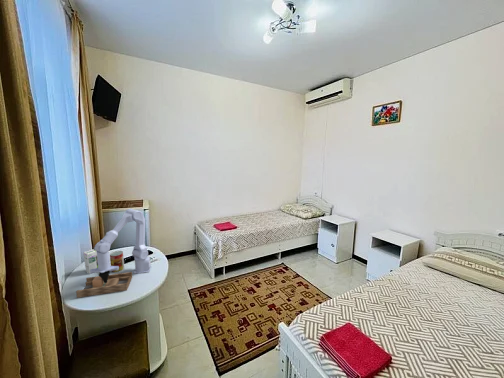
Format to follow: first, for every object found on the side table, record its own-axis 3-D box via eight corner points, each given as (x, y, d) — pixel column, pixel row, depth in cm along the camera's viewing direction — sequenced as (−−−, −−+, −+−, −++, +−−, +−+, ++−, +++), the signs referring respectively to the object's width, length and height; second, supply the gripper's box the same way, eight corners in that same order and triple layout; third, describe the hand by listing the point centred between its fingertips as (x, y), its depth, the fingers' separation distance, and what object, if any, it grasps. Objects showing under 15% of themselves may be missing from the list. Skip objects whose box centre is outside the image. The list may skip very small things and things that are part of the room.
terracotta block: (104, 282, 133) (103, 275, 132) (101, 286, 129) (101, 279, 128) (96, 283, 132) (95, 276, 131) (93, 287, 127) (92, 280, 127)
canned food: (110, 268, 152) (108, 252, 150) (123, 265, 157) (121, 249, 155) (112, 273, 146) (110, 257, 144) (125, 269, 151) (124, 253, 149)
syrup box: (89, 274, 145) (87, 254, 143) (85, 271, 148) (83, 251, 146) (99, 270, 150) (96, 250, 147) (95, 268, 153) (92, 248, 150)
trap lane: (132, 277, 142) (131, 271, 141) (127, 290, 129) (126, 284, 128) (87, 283, 135) (86, 277, 134) (77, 297, 121) (76, 291, 121)
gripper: (86, 266, 123) (89, 288, 125) (115, 263, 127) (117, 284, 129) (91, 260, 130) (93, 281, 132) (119, 257, 134) (120, 277, 136)
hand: (105, 282), depth 131 cm, fingers closed
